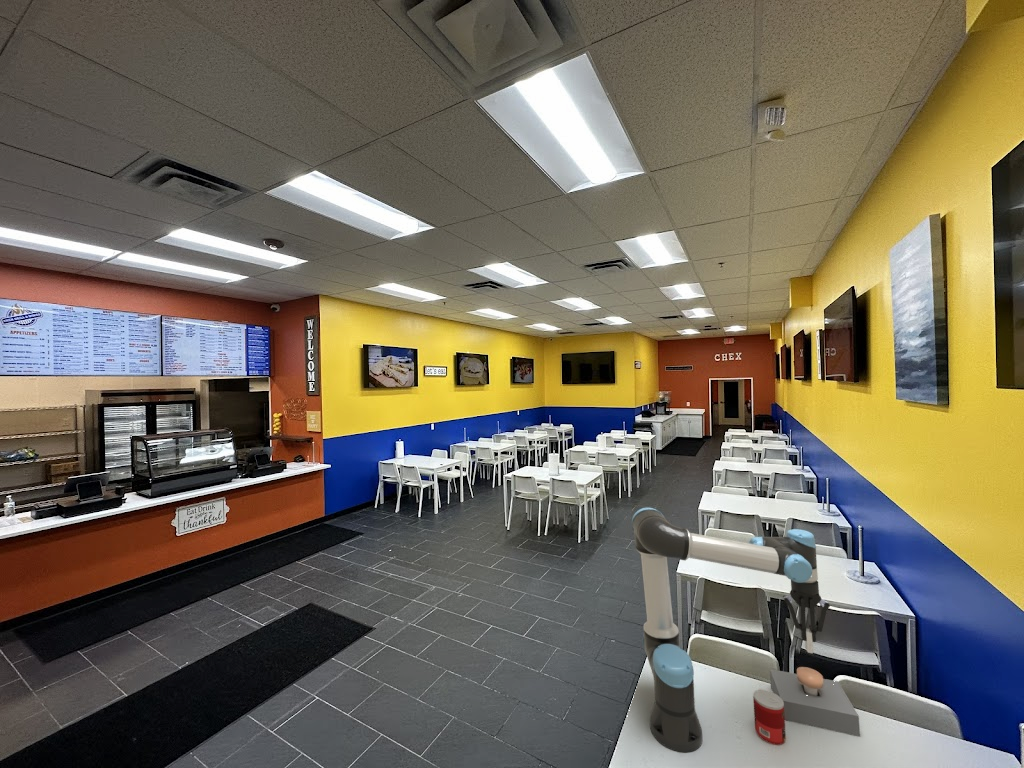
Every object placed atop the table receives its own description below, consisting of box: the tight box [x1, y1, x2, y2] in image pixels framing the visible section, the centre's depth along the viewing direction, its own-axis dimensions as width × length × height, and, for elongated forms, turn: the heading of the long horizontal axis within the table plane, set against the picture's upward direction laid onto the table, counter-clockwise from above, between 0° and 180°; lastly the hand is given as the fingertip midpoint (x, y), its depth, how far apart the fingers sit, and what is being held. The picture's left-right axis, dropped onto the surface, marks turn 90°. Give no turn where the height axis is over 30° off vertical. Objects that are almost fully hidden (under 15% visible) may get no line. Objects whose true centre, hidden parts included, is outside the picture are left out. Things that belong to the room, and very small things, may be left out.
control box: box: [769, 668, 861, 737], centre depth 133 cm, size 20×16×6 cm
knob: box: [796, 666, 824, 696], centre depth 134 cm, size 7×7×8 cm
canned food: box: [752, 689, 787, 746], centre depth 124 cm, size 8×8×11 cm
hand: (809, 650), depth 134 cm, fingers closed
